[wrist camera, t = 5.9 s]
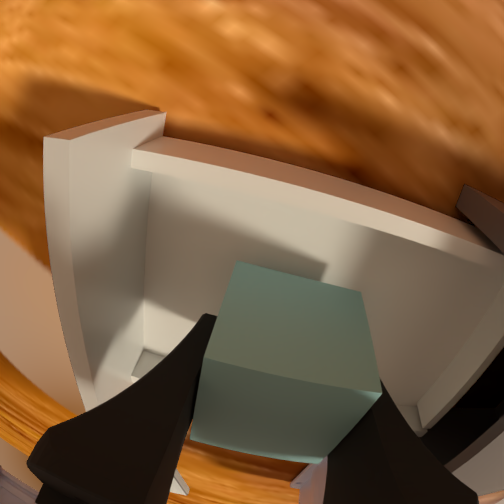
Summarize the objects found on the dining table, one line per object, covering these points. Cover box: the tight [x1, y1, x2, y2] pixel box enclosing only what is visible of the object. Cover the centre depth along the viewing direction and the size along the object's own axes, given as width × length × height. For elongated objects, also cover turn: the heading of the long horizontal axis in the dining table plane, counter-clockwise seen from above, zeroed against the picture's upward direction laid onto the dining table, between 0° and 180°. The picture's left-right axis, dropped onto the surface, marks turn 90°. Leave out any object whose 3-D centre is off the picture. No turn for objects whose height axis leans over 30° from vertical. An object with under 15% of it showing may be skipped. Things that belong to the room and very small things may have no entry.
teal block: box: [190, 260, 382, 464], centre depth 10 cm, size 4×4×4 cm
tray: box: [43, 110, 504, 437], centre depth 11 cm, size 13×17×6 cm
